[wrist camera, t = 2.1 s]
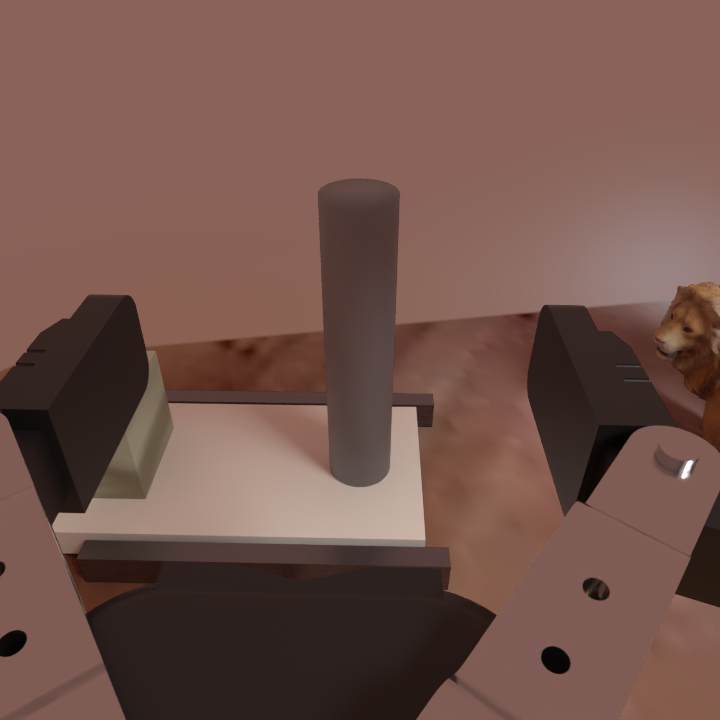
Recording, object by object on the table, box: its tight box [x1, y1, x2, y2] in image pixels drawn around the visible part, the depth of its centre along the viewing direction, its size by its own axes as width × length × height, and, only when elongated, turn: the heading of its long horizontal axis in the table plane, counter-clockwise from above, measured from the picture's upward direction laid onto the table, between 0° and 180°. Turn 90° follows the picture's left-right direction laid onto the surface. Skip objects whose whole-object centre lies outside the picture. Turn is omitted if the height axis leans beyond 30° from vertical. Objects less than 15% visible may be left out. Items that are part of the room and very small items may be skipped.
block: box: [93, 351, 174, 499], centre depth 30 cm, size 5×5×5 cm
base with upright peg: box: [52, 179, 425, 554], centre depth 28 cm, size 20×9×16 cm, turn 88°
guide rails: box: [76, 390, 451, 590], centre depth 32 cm, size 16×12×2 cm
